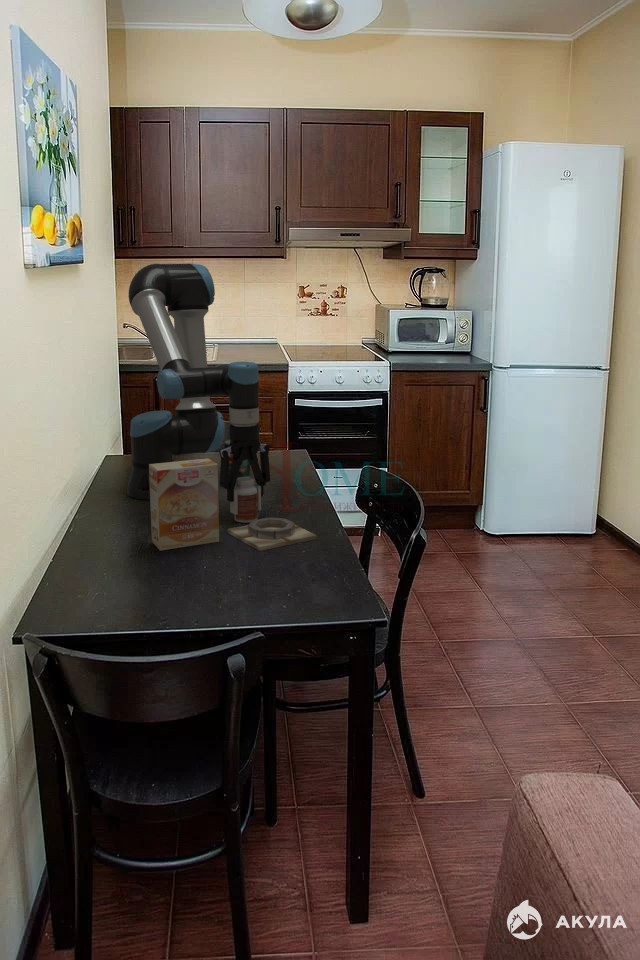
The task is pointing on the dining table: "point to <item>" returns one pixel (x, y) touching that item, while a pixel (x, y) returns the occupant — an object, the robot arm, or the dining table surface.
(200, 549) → the dining table surface
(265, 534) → the socket
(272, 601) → the dining table surface
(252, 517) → the pill bottle
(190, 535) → the coffeecake box
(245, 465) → the canned tomato
